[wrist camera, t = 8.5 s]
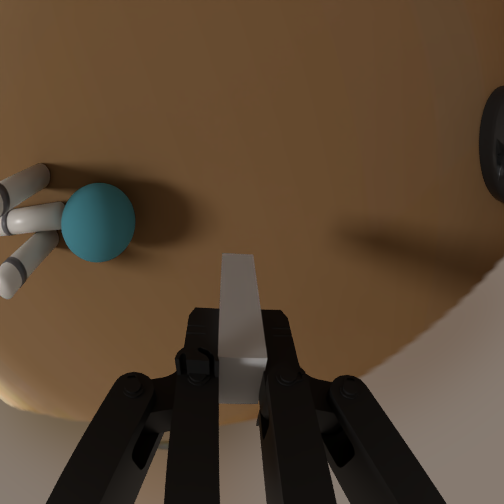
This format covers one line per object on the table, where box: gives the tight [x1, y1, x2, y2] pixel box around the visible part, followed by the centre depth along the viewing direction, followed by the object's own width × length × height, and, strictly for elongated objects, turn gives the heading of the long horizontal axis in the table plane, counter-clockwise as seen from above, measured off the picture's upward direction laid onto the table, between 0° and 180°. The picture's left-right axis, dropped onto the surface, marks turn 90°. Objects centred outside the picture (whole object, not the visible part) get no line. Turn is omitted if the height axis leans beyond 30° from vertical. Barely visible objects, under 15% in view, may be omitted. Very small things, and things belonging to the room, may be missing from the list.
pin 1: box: [0, 163, 50, 217], centre depth 16 cm, size 2×2×8 cm
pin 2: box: [0, 230, 59, 299], centre depth 19 cm, size 2×2×8 cm
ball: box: [61, 183, 135, 262], centre depth 19 cm, size 6×6×6 cm
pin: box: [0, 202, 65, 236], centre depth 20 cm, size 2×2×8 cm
